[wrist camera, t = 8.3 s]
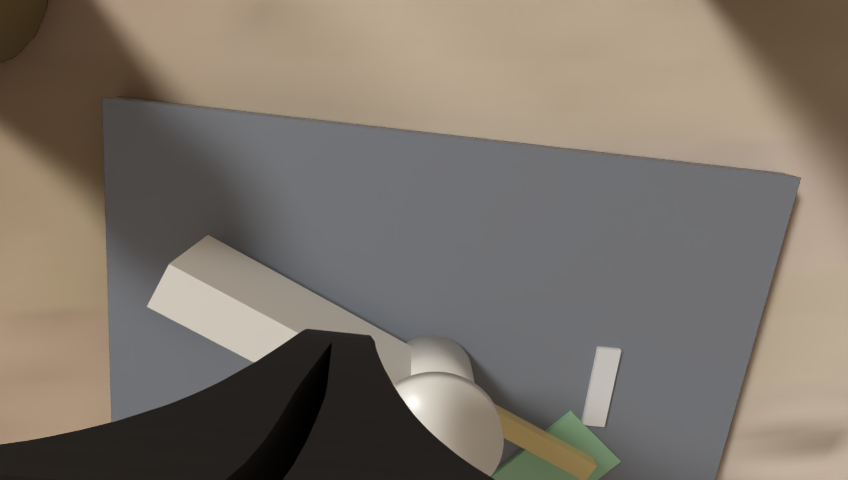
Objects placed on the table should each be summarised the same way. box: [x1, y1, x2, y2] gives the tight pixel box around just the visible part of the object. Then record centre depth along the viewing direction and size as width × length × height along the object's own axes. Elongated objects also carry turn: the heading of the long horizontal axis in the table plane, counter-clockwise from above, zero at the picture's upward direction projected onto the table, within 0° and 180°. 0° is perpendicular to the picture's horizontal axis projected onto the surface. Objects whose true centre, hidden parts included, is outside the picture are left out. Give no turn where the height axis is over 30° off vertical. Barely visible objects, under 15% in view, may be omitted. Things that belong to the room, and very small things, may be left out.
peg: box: [147, 235, 597, 480], centre depth 18 cm, size 15×4×4 cm, turn 59°
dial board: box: [102, 97, 801, 480], centre depth 21 cm, size 18×22×1 cm
